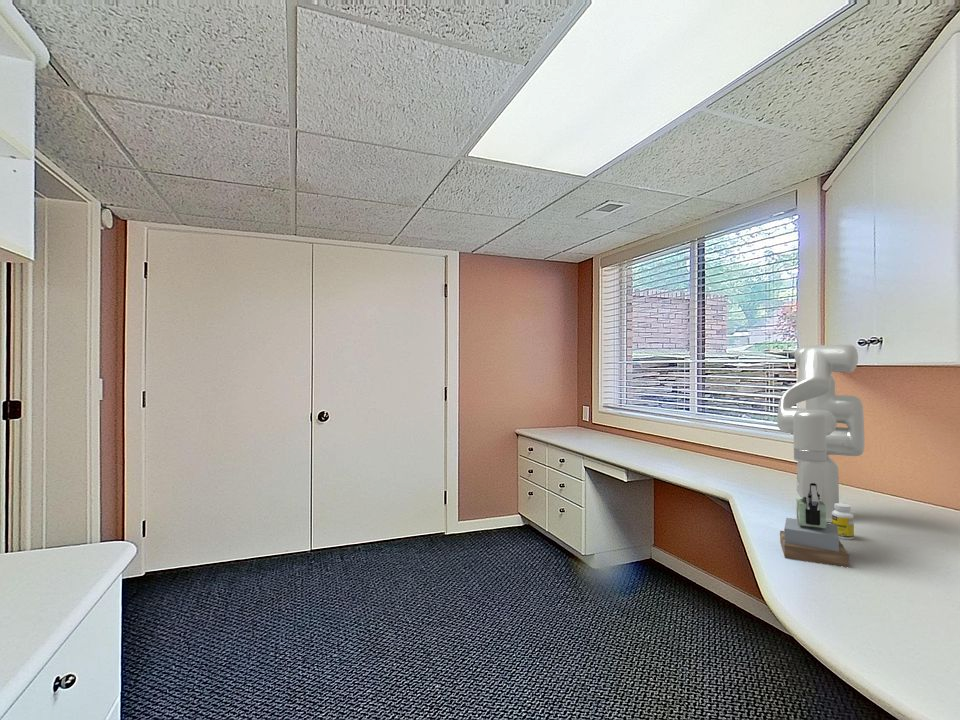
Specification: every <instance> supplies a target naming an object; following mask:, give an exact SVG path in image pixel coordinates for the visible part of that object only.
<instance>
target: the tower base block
mask: <svg viewBox="0 0 960 720" xmlns="http://www.w3.org/2000/svg"><path fill="white" fill-rule="evenodd" d="M779 542H780V547H781V550H782V553H783V556H784V559H787V560H795V561H800V562H807V561H808V563H814V562H815V563H816V564H820V563H822V564H821V565H827V564H828V566H834V565H835V567H841V566H843V567H842V568H847V567H849V568H850V562H849V561H850V560H849V557H850V556H849V554H850V553H848V551H847V549H846V548H845V546H844V545H843V544H842V542H841V540H840V539H839V552H835V551H829V550H823V549H817V548H811V547H805V546H799V545H793V544H787V543H785V534H784V530H779ZM815 563H814V564H815Z"/></svg>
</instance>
